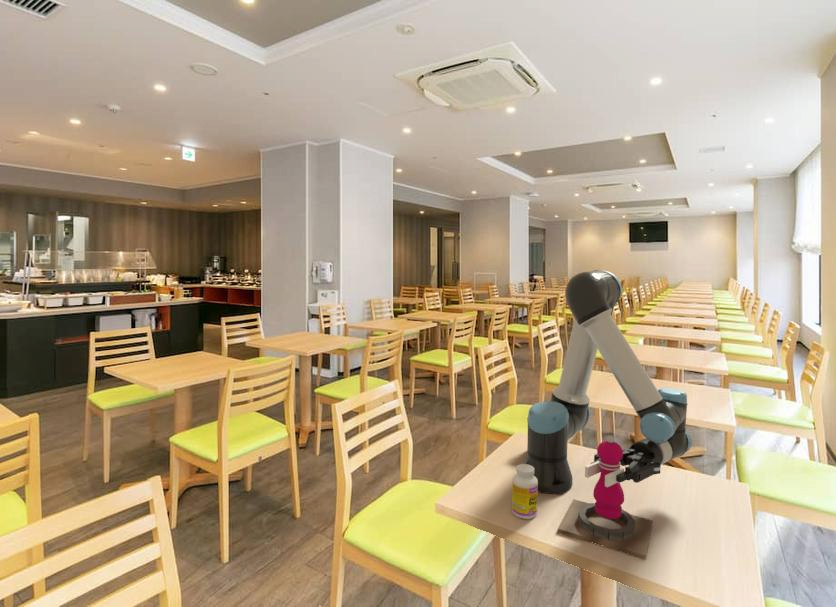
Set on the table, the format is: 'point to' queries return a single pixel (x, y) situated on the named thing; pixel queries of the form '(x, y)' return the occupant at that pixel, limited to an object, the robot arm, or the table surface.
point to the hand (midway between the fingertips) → (596, 476)
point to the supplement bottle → (524, 492)
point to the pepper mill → (605, 496)
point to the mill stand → (607, 529)
